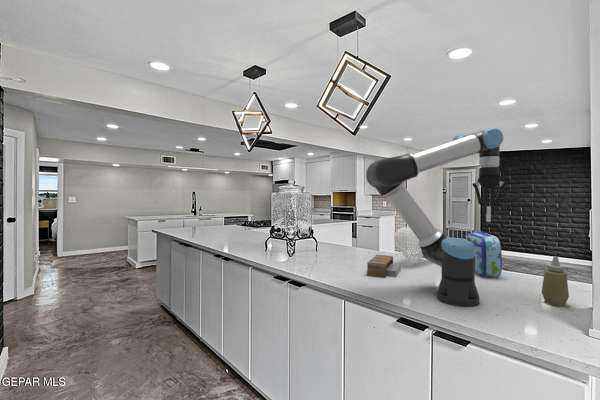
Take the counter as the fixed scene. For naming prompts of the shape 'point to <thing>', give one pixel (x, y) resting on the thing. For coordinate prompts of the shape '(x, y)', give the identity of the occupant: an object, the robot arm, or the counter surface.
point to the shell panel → (393, 270)
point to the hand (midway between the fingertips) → (488, 221)
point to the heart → (406, 234)
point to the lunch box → (486, 253)
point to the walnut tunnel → (378, 265)
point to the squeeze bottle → (555, 284)
